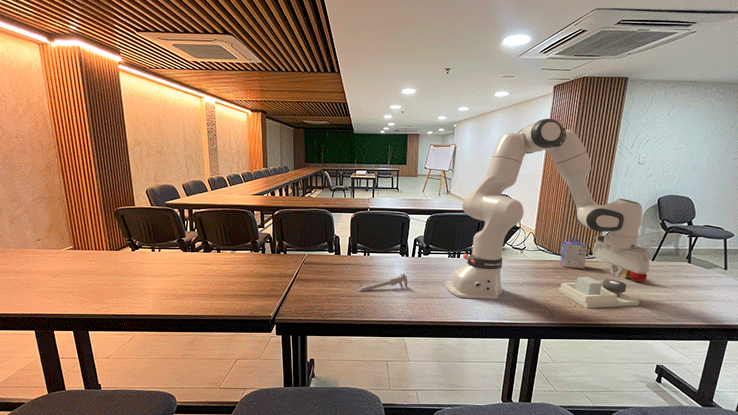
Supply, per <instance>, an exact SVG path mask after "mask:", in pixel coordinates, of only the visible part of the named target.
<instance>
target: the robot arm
mask: <svg viewBox="0 0 738 415" xmlns="http://www.w3.org/2000/svg"><path fill="white" fill-rule="evenodd" d="M542 151H546V152H547V153H548V154H549V155H550V156H551V159H552V161H553V163H554V165H555V168H556V170H557V171H558V173H559V175H560V176H561V177H562V179H563V180H564V182H565V184H566V186H567V188H568V191H569V193H570V195H571V197H572V200H573V203H574V206H575V210H574V211H575V212H574V217H575V220H576V221H577V223H578V224H579V225H581V226H583V227H586V228H587V229H590V230H591V231H594V232H599V233H601V232H602V233H606V232H608V234H603V235H602V234H601V235H596V236H595V242H594V244H593V249H592V255H593V257H594V258H595V259H599V260H601V261H604V262H606V263H609V264H608V266H609V269H610V275H611V276H613V277H616V278H619V279H620V278H622V273H623V272H624V271H625V270H626V269H627V270H630V271H632V272H635V273H638V274H645V273H646V274H647V273H649V269H650V252H649V251H648V250H647V248H645V247H640V246H638V242H639V241H638V240H639V238H640V237H639V236H640V234H639V229H640V228H641V225H642V219H643V207H642V204H640V203H639V202H637V201H634V200H630V199H624V198H617V199H616V200H613V201H612V202H609V203H605V204H601V205H600V204H598V203H597V202H596V201H595V200H594V199H593V197H592V194H591V192H590V190H589V187H588V184H587V177H588V175H589V173H590V172H591V170H592V164H591V160H590V157H589V154H588V152H587V150H586V148H585V146H584V144H583V143H582V141H581V140H580V138H579V136H578V135H577V134H576V132H575V131H573V130H572V129H566V128H564V127H563V125H562V124H561V123H560V122H559V121H557V120H556V119H553V118H543V119H541V120H538V121H537V122H534V123H531V124H529V125H527V126H526V127H524V128H522V129H520V130H519V131H518V132H517V133H516V132H509V133H504V134H503V135H502V136H501V137H500V139H499V140H498V143H497V144H496V146H495V149H494V150H493V153H492V156H491V159H490V163H489V165H488V168H487V171H486V173H485V176H484V178H483V179H482V181H481V182H480V184H479V185H478V186H477V187H476V188H475V189H474V190H473V191H472V192H470V193H469V194H467V195H465V197H464V199H463V201H462V210H463V212H464V213H465V214H466V215H467V216H469V217H471V218H472V219H475V220H479V221H483V222H484V226H483V228H482V229H481V230H480V231H477V232H476V233H475V234H474V236H473V239H472V240H473V242H472V250H471V251H472V252H471V254H470V255H468V253H464V254H463V255H462V258H463V259H464V260H467V262H465V263H463V265H461V266H460V267H458V268H456V269H455V270H454V271H453V272H452V274H451V277H450V280H446V281H445V283H444V286H445V288H446V290H447V291H448V292H450V293H451V294H452V295H454V296H456V297H458V298H468V299H470V298H471V299H487V300H488V299H490V300H491V299H493V300H495V299H496V300H497V299H498V298H499V297H500V295H502V294H503V289H502V288H503V287H502V280H501V270H502V267H503V256H502V255H503V248H504V241H505V238H506V236H507V233H508V232H509V231H510V230H511V228H514V227H515V226H517V225H518V224H519V223H520V222H521V220H522V219H523V217H524V212H525V210H524V206H523V204H522V203H521V201H519V200H517V199H514V198H512V197H509V196H504V195H501V194H502V193H503V192H504V191H505V190H507V189H509V188H510V187H512V186H513V185H514V186H515V183H516V182H517V179H518V175H519V172H520V170H521V166H522V163H523V161H524V157H525V155H526V154H527V155H528V154H534V153H537V152H542ZM616 266H618V269H619V270H618V271H617V270H616Z"/></svg>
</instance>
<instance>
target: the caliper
mask: <svg viewBox="0 0 738 415" xmlns="http://www.w3.org/2000/svg"><path fill="white" fill-rule="evenodd" d="M403 282H404V285H403ZM397 284H399V286H400V288H401V289H402V288H404V287H405V288H407V287H408V277H407V275H406V274H405V272H403V273H400V276H396V277H392V278H389V280H385V281H384V280H383V281H380V282H378V283H374V284H370V285H366V286H362V287H360V288H358V289H357V291H358V292H366V291H369V290H374V289H378V288H382V287H385V286H389V285H391V286H396V285H397ZM403 286H404V287H403Z"/></svg>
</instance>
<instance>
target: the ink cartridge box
mask: <svg viewBox="0 0 738 415" xmlns="http://www.w3.org/2000/svg"><path fill="white" fill-rule="evenodd" d="M560 250H561V252H560V260H559V265H561V266H562V267H564V268H565V267H567V268H574V269H575V268H577V269H585V267H586V258H587V252H588V244H586V243H585V242H579V238H578V237H569V241H562V243H561V249H560Z"/></svg>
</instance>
